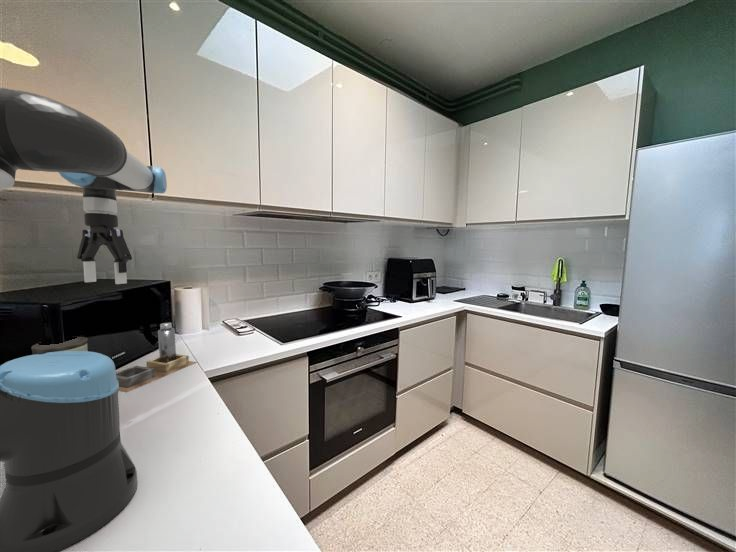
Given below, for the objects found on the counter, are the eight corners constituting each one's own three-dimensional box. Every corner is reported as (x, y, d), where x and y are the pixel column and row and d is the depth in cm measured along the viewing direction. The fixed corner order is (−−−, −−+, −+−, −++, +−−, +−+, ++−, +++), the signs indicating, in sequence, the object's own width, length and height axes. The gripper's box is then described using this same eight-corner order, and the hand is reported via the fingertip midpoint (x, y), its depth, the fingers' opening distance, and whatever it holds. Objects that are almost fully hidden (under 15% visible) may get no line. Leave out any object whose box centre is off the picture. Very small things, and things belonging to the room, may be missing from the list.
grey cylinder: (167, 369, 90) (164, 325, 89) (156, 367, 92) (153, 325, 90) (180, 364, 95) (177, 322, 93) (169, 362, 96) (167, 321, 95)
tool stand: (126, 397, 76) (126, 383, 75) (95, 391, 79) (94, 377, 79) (197, 366, 97) (197, 354, 96) (170, 362, 100) (170, 351, 100)
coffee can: (25, 405, 71) (20, 350, 70) (51, 387, 81) (47, 338, 80) (79, 397, 76) (75, 345, 74) (97, 381, 85) (94, 335, 84)
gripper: (144, 214, 88) (147, 283, 89) (88, 216, 95) (92, 280, 96) (116, 210, 80) (120, 285, 82) (58, 213, 87) (63, 282, 89)
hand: (105, 282), depth 89 cm, fingers open, 13 cm apart
